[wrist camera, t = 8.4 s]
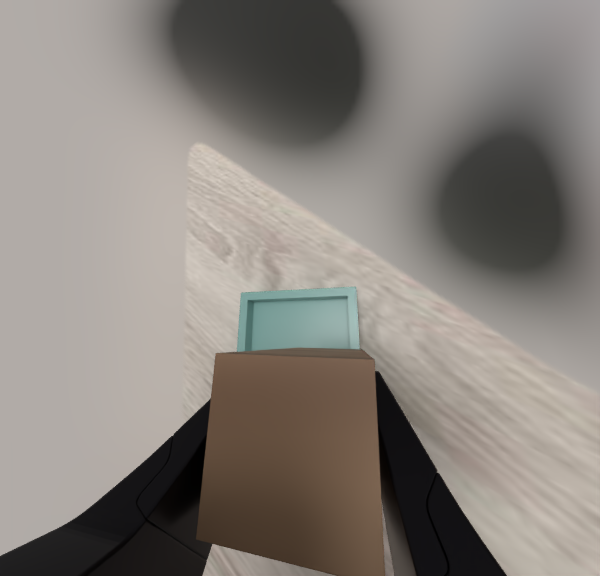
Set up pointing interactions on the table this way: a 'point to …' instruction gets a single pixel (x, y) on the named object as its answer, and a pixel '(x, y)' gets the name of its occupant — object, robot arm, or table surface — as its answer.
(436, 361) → the table surface
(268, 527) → the tall brown wood pillar
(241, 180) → the table surface
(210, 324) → the table surface
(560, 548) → the table surface
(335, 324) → the tray
